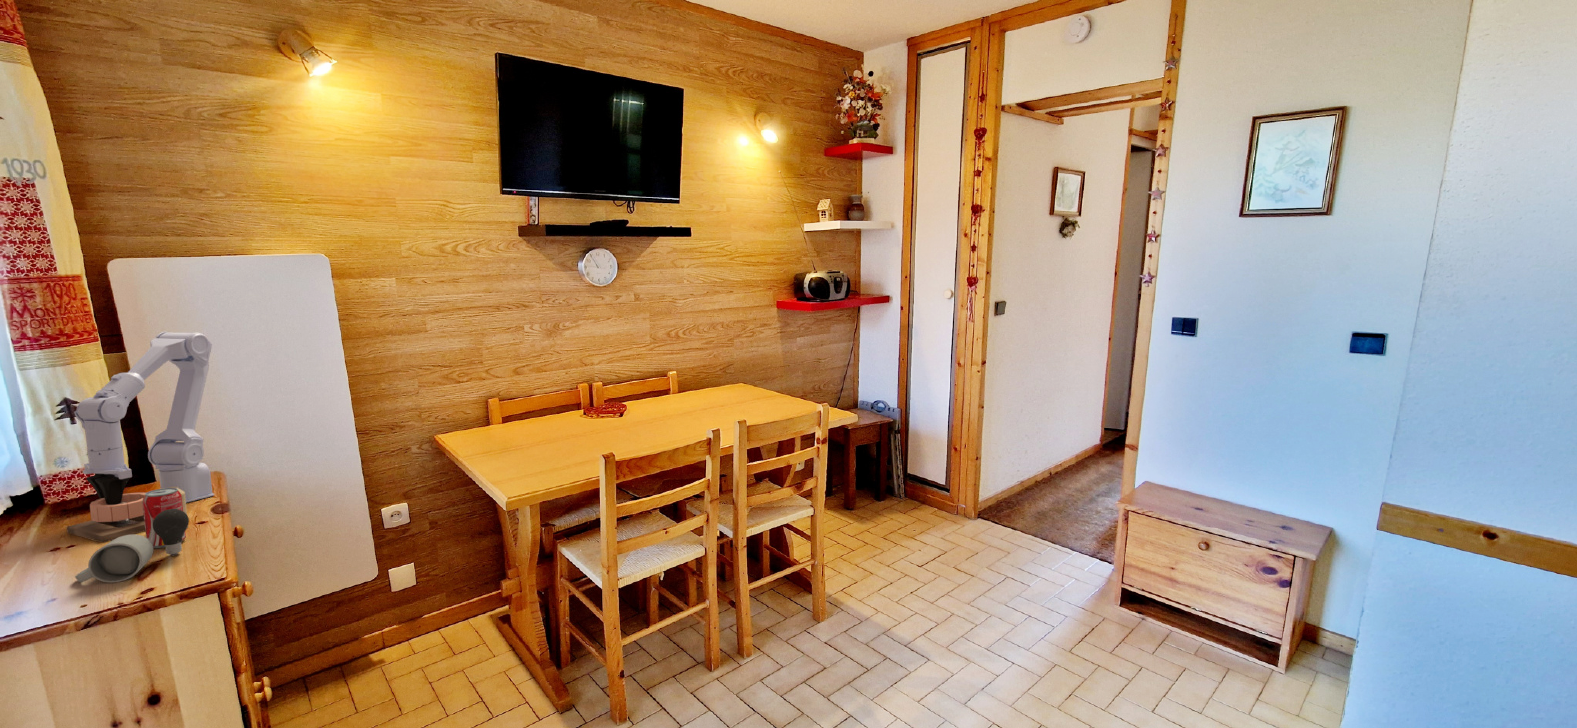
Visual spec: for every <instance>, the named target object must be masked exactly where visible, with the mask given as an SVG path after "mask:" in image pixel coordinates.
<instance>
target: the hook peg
mask: <svg viewBox="0 0 1577 728" xmlns="http://www.w3.org/2000/svg"><path fill="white" fill-rule="evenodd" d="M123 503H125V502H122V503H119V504H123ZM134 523H138V522H137V521H133V520H130V519H126V520H119V521H112V522H110V524H111V526H113V527H117V528H119V527H123V526H126V525H130V524H134Z"/></svg>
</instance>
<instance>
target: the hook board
mask: <svg viewBox="0 0 1577 728" xmlns="http://www.w3.org/2000/svg"><path fill="white" fill-rule="evenodd" d="M130 520H132V521H137V522H138V523H134V524H130V525H126V526H123V527H119V528H118V527H114V526H111V524H110V522H96V521H92V520H91V519H90V520H88V521H84V522H80V523H76V524H72V525H67V526H66V531H67V532H66V533H67V534H70V535H73V536H78V537H81V538H85V539H88V540H92V541H96V542H100V543H107V542H111V541H112V540H114V539H116V538H118V537H121V536H125V535H131V534H133V535H137V534H138V533H142V532H146V531H145V522H144V515H143V516H139V517H135V518H131V519H130Z"/></svg>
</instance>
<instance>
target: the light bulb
mask: <svg viewBox="0 0 1577 728" xmlns="http://www.w3.org/2000/svg"><path fill="white" fill-rule="evenodd" d="M189 524H190V519H189V515H188V513H187V514H186V513H185V512H183V511H182V510H179V509H168V510H165V511H163V512H161V513H159V514H158V515H157V516H156V517H155V519H154V520H153V530H154V531H155V533H156V534H157V535H158V536H159V537H160V538H161V539H162V540H163V543H164V545H165V546H166V547H164V548H165V553H166V554H167V555H170V556H173V557H174V555H175V556H177V555H178V553H180V552H181V551H182V549H183V548H182V542H183V541H182V537H183V534H184V532H185V533H186V530H187V529H188V528H189ZM187 527H188V528H187ZM181 541H182V542H181Z"/></svg>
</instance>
